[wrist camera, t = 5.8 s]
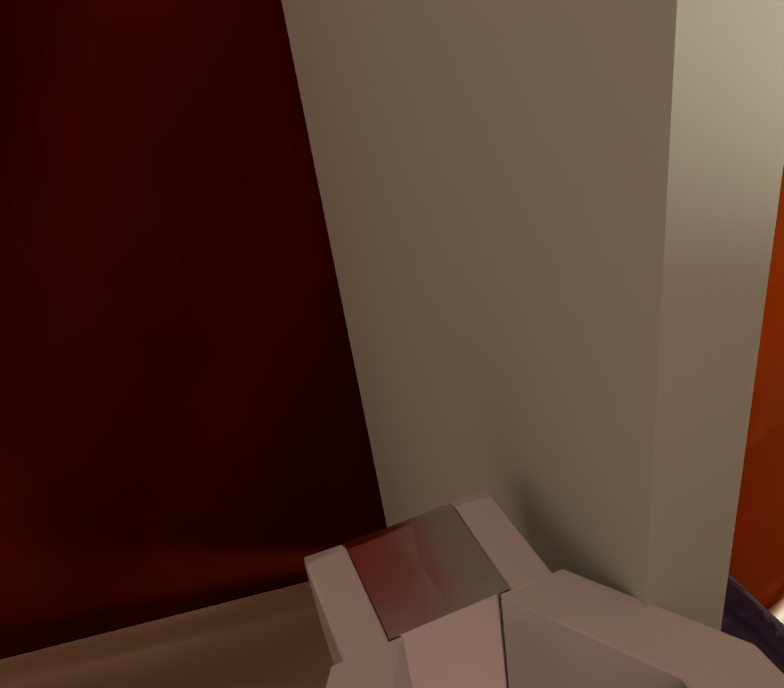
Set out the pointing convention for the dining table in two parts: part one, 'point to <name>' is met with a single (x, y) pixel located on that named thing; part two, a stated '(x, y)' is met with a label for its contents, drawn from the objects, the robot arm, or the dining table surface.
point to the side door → (556, 262)
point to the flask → (752, 623)
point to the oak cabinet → (193, 650)
